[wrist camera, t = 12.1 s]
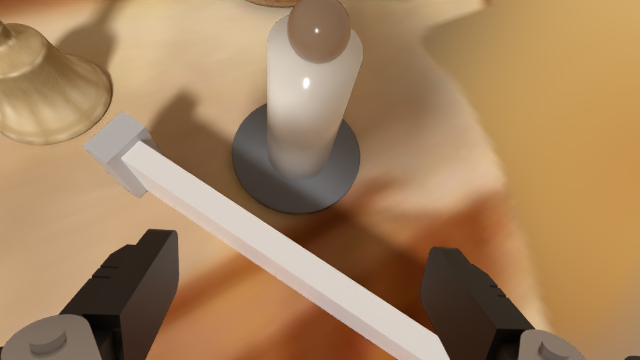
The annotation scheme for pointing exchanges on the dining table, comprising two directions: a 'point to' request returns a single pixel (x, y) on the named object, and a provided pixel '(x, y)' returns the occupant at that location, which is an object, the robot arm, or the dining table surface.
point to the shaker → (309, 85)
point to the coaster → (290, 192)
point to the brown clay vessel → (275, 3)
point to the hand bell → (46, 89)
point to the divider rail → (257, 240)
